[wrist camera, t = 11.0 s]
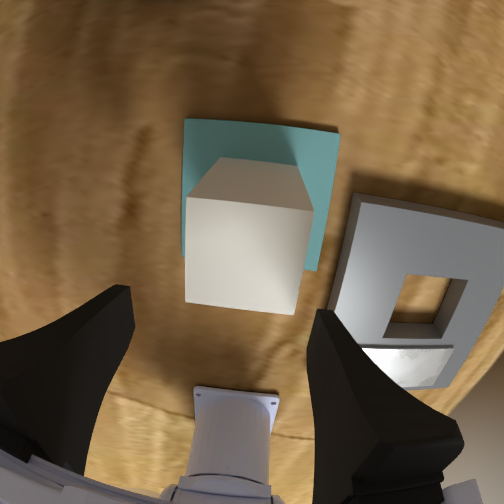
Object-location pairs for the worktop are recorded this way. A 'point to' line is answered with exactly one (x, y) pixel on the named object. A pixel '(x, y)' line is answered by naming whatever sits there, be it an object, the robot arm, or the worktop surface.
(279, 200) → the plug
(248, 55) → the worktop surface
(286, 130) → the mat
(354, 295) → the grey slotted board
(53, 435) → the robot arm
